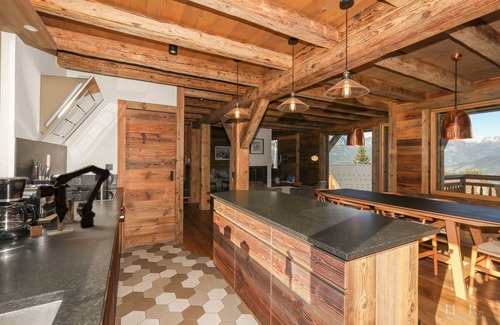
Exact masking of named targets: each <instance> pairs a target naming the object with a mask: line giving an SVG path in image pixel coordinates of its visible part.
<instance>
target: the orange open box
mask: <svg viewBox="0 0 500 325" xmlns="http://www.w3.org/2000/svg"><path fill="white" fill-rule="evenodd" d="M29 231H30V232H29V233H30V238H32V237H39V236H43V235H44V234H43V232H44V231H43V225H34V226H30V228H29Z"/></svg>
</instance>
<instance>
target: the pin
mask: <svg viewBox="0 0 500 325" xmlns="http://www.w3.org/2000/svg"><path fill="white" fill-rule="evenodd" d="M63 229H64V223H63V222H62V223H60V222H59V218H58V217H57V230H58V231H63Z"/></svg>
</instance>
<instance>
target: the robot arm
mask: <svg viewBox="0 0 500 325" xmlns="http://www.w3.org/2000/svg"><path fill="white" fill-rule="evenodd" d="M89 173H92V174H94V182H93V184H91V187H90V189H89V191H88V193H87V194H86V197H85V198H84V200H83V201H82V202H81V201H80V202H78V205H77V206H76V212H75V213H76V214H77V215H78V216H79V217H80V219H79V227H80V228H81V229H86V228H93V227H95V225H94V220H95V218H96V213H95V212H94V211H93V207H94V205H93V204H94V201H95V199H96V198H97V195H98V193H99V192H100V189H101V187H102V185H103V184H104V182H106V181H107V180H108V178H109V177H110V176H111V172H110V170H109V169H108V168H102V167H99V166H96V165H95V164H94V165H93V164H89V165H86V166H84V167H81V168H79V169H75V170H73V171H69V172H64V173H57V174H55V175H53V176H52V177H51V180H50V182H48V184H47V185H38V186H37V188H36V191H35V196H36V198H37V199H44V198H51V197H53V198H52V200H50V201H46V202H43V203H42V204H40V206H41V208H42V210H43V211H44V212H45V211H47V210H48V209H51V208H52V209H53V210H52V211H53V213H54V214H56V215H57V219H58V218H59V222H60V223H62V222H63V219H64V217H65V215H66V213H67V212H69V208H68V207H67V204H66V199H67V198H68V197H67V188H68V189H69V188H71V185H69V184H68V183H69V182H71V181H72V180H74V179H76V178H77V177H78V178H79V177H81V176H83V175H86V174H89Z"/></svg>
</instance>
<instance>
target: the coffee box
mask: <svg viewBox="0 0 500 325" xmlns="http://www.w3.org/2000/svg"><path fill="white" fill-rule="evenodd" d="M66 204H67V207H68V208H69V212H67V213H66V215H65V217H64V219H63V224H69V223H73V222H74V221H75V197H67V199H66Z"/></svg>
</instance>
